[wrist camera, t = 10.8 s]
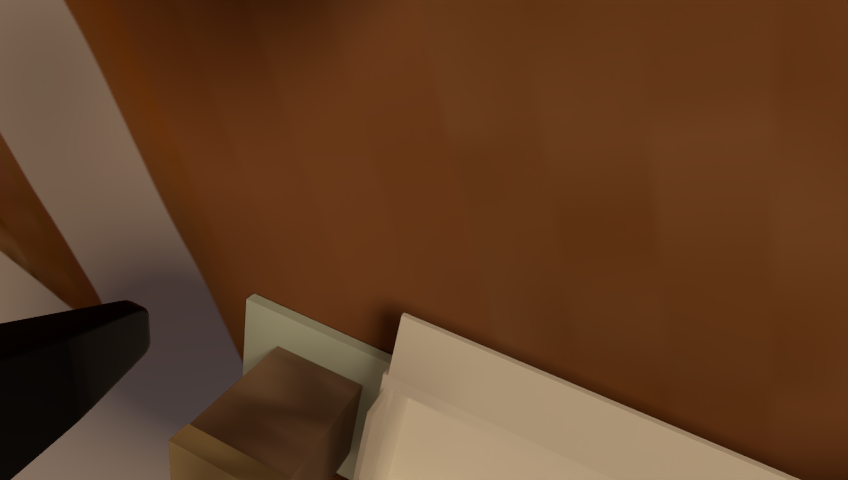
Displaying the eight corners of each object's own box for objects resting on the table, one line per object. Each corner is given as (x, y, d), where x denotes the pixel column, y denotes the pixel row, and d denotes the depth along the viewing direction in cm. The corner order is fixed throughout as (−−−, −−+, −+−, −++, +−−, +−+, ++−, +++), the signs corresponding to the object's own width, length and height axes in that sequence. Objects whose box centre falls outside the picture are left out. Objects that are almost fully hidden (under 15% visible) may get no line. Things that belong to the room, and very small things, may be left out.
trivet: (410, 363, 24) (405, 370, 23) (379, 484, 28) (374, 492, 28) (253, 293, 26) (246, 299, 26) (247, 415, 30) (240, 422, 30)
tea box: (363, 384, 25) (275, 499, 19) (350, 454, 27) (268, 575, 21) (277, 344, 26) (168, 440, 20) (271, 414, 28) (172, 518, 22)
